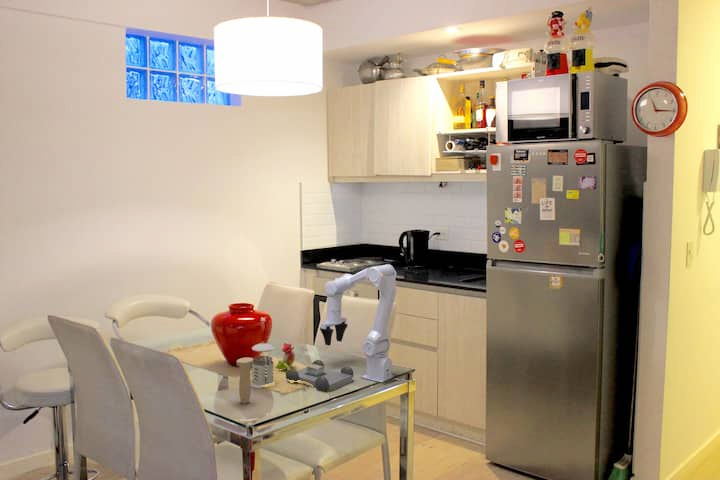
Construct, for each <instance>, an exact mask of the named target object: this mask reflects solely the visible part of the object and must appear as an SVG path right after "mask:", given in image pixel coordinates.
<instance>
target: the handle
mask: <svg viewBox="0 0 720 480" xmlns="http://www.w3.org/2000/svg"><path fill="white" fill-rule="evenodd" d="M253 358H254V357H247V356H246V357H241V358H239V359H237V360H236V366H238V367H239V382H238V384H239V385H238V386H239V387H238V388H239V389H238V391H239V398H240V404H243V405H244V404H249V403H250V398H251V391H252V386H251V381H252V379H251V367H252V364H253V362H254V359H253Z"/></svg>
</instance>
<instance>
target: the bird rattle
mask: <svg viewBox="0 0 720 480" xmlns="http://www.w3.org/2000/svg"><path fill="white" fill-rule="evenodd" d="M294 348H295V347H294V346H292V343H285V342H283V347H282V348H281V351H282V352H283V353H284V355H283V358H282V360H281V359H279V360H278V362H277V364H276V365H275V368H276V369H277V370H279V369H283V370H284V369H285V370H286V369H287V370H286V371H288V370H291V369H292V366H293V364H294V362H295V357H296V355H295V352H294V351H293V350H294ZM290 367H291V368H290Z"/></svg>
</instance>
